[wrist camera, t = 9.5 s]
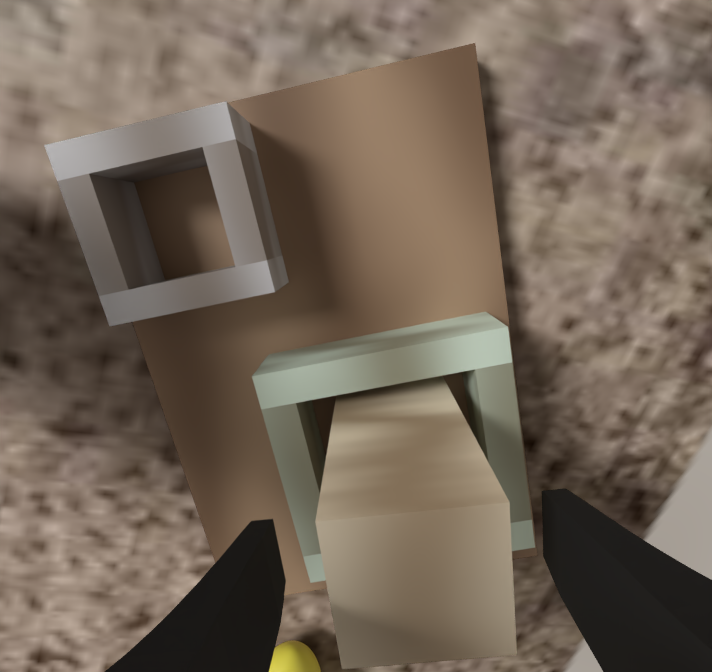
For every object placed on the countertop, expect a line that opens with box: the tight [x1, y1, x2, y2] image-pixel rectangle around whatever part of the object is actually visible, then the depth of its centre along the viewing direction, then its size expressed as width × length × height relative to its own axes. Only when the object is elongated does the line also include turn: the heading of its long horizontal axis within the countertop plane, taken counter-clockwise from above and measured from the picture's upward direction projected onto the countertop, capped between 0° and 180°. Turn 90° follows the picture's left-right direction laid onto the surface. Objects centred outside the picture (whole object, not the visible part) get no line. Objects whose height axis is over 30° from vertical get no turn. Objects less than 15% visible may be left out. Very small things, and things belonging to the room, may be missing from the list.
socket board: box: [44, 43, 538, 595], centre depth 16 cm, size 14×20×4 cm
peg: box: [315, 376, 517, 669], centre depth 13 cm, size 4×4×8 cm
